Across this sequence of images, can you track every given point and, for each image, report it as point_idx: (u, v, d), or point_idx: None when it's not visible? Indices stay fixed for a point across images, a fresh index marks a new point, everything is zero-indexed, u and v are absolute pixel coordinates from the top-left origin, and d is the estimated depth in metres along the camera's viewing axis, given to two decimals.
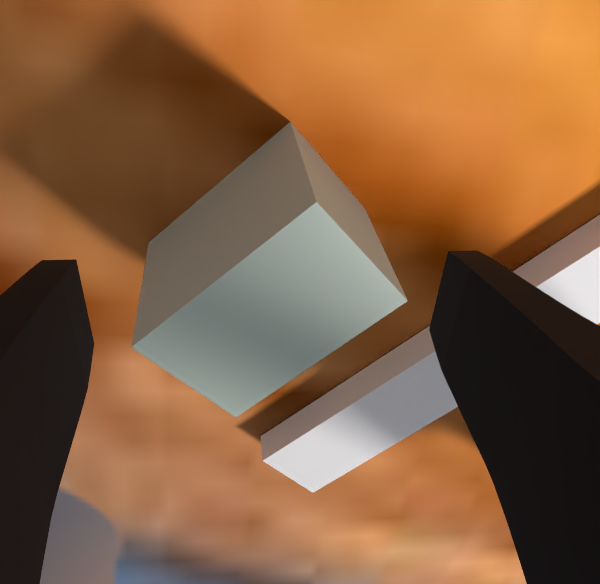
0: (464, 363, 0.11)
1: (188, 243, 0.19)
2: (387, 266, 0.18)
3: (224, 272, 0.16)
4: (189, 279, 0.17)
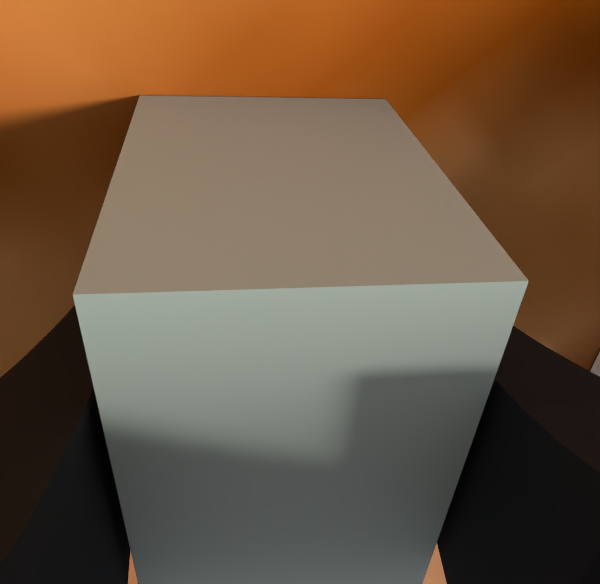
0: None
1: None
2: (439, 220, 0.07)
3: (120, 496, 0.07)
4: None
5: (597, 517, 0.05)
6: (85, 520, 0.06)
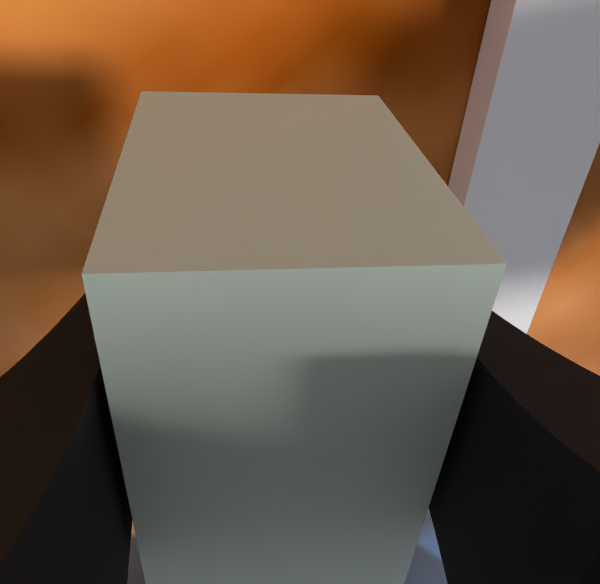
0: None
1: None
2: (425, 208, 0.07)
3: (124, 470, 0.08)
4: None
5: (598, 516, 0.05)
6: (84, 520, 0.06)
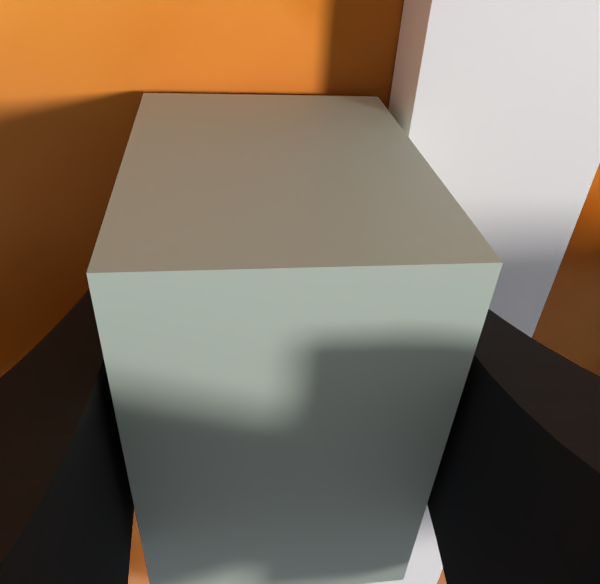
0: None
1: None
2: (423, 208, 0.07)
3: (127, 466, 0.08)
4: None
5: (597, 517, 0.05)
6: (85, 520, 0.06)
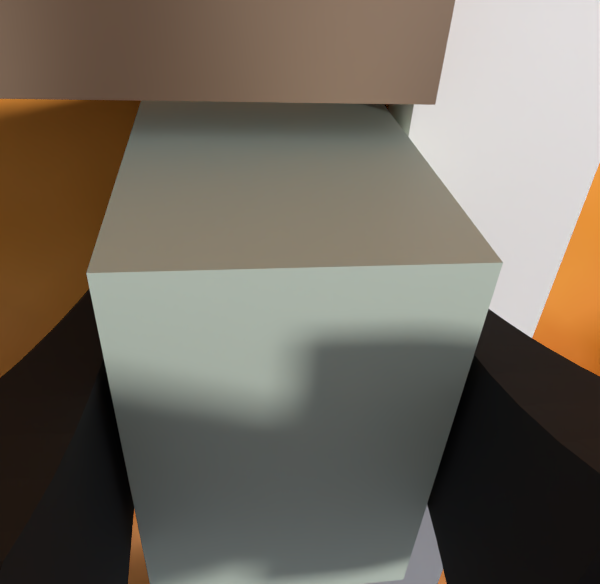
0: None
1: None
2: (423, 208, 0.07)
3: (127, 466, 0.08)
4: None
5: (597, 517, 0.05)
6: (85, 520, 0.06)
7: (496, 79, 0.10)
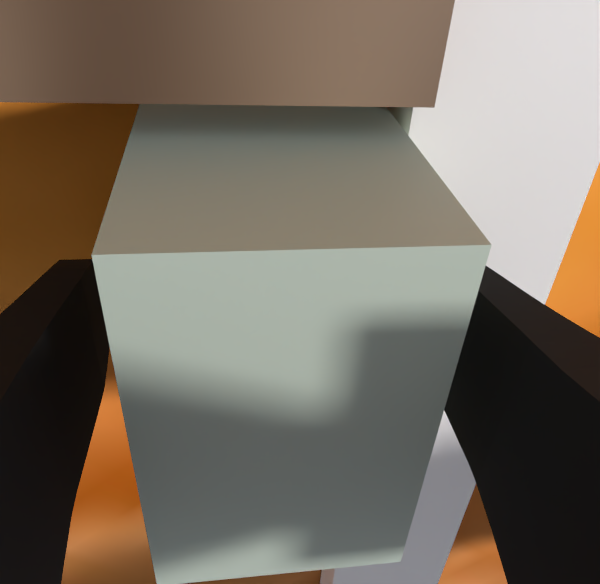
0: None
1: None
2: (416, 195, 0.08)
3: (131, 446, 0.08)
4: None
5: None
6: None
7: (495, 82, 0.10)
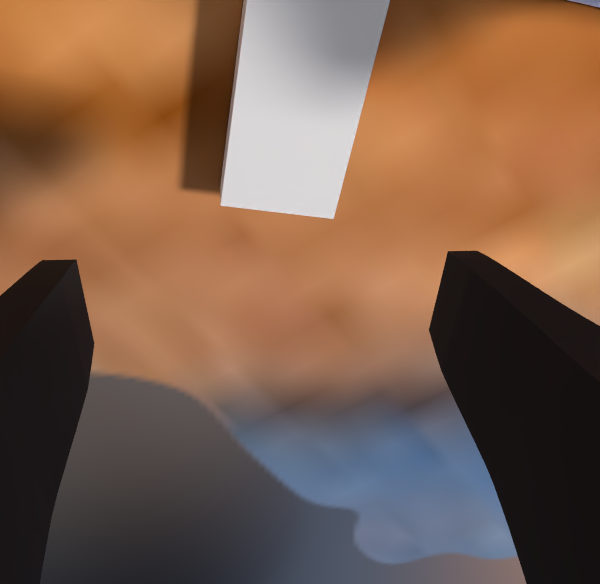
0: (464, 363, 0.11)
1: None
2: None
3: None
4: None
5: None
6: None
7: None
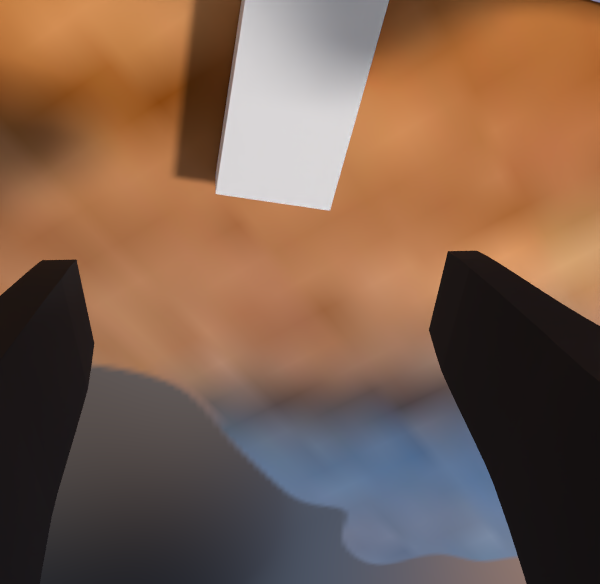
0: (464, 363, 0.11)
1: None
2: None
3: None
4: None
5: None
6: None
7: None
